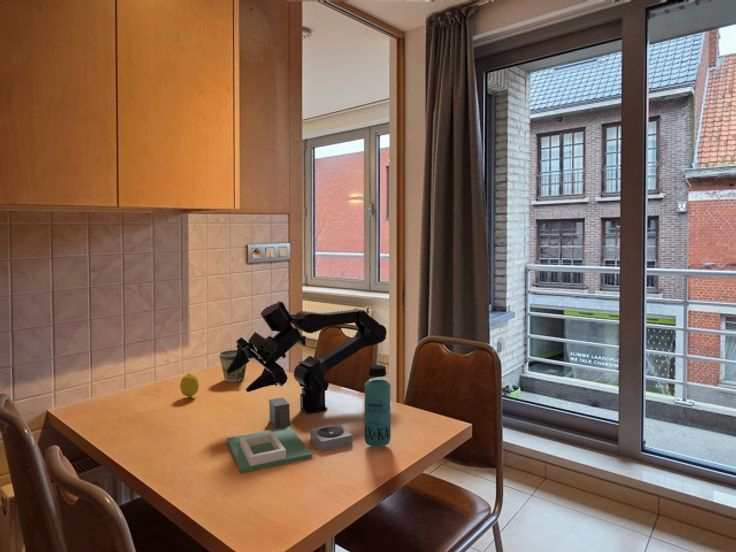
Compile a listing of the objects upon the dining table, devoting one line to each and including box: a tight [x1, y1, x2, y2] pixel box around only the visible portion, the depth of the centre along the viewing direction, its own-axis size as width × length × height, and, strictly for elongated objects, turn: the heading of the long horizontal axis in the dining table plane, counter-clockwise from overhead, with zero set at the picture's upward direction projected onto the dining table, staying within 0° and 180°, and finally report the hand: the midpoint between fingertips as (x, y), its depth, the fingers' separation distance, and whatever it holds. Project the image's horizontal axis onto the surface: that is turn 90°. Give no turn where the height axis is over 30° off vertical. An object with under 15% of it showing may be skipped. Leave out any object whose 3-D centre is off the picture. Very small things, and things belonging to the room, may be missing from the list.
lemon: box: [179, 372, 200, 399], centre depth 151 cm, size 6×6×8 cm
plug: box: [268, 396, 291, 429], centre depth 129 cm, size 4×7×6 cm, turn 26°
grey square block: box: [309, 423, 353, 453], centre depth 117 cm, size 8×8×3 cm
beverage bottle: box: [363, 364, 392, 448], centre depth 113 cm, size 6×7×20 cm
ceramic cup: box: [218, 349, 248, 383], centre depth 169 cm, size 13×10×10 cm
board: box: [226, 425, 313, 474], centre depth 113 cm, size 16×18×3 cm
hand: (236, 381), depth 126 cm, fingers open, 9 cm apart
